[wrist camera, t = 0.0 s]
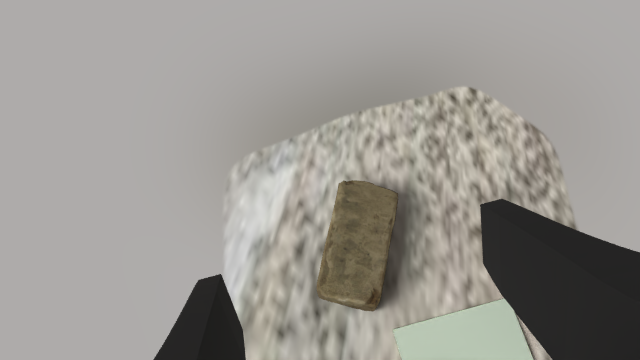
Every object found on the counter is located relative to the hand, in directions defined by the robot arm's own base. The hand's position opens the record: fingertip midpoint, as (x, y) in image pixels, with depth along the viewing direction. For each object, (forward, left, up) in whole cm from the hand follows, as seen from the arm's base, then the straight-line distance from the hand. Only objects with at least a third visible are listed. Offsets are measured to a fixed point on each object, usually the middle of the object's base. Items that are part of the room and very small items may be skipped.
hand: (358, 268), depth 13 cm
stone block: (+7, -3, -33) cm, 34 cm away
